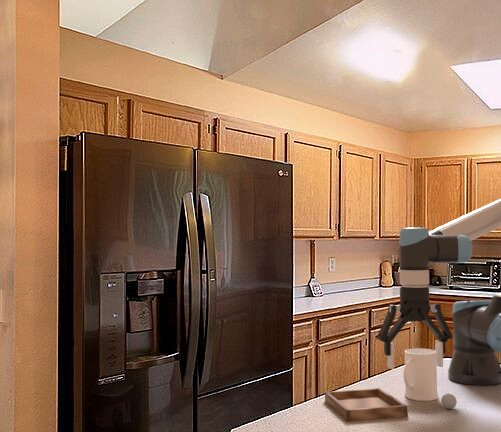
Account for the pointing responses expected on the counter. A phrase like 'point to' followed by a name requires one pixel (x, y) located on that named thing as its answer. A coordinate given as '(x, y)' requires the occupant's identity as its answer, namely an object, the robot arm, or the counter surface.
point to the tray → (365, 404)
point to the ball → (449, 401)
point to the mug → (420, 374)
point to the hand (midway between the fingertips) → (415, 367)
